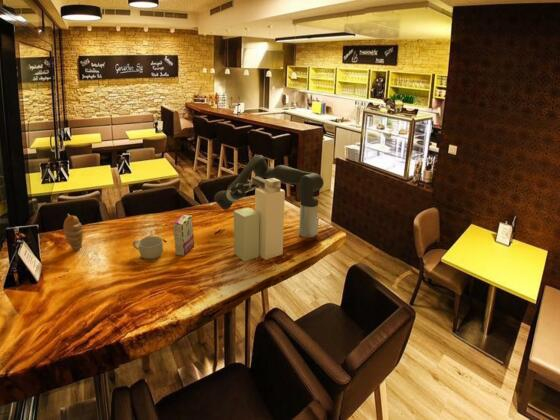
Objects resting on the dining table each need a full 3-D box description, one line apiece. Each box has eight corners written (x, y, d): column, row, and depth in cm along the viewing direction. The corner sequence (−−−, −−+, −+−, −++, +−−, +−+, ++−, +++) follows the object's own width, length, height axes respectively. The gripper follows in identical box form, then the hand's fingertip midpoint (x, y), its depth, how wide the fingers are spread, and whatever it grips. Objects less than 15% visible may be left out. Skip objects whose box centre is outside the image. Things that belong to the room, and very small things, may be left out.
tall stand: (271, 247, 191) (273, 185, 179) (282, 254, 184) (284, 190, 173) (254, 252, 185) (255, 188, 174) (265, 259, 178) (266, 194, 167)
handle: (259, 182, 184) (259, 171, 182) (280, 191, 171) (280, 180, 169) (250, 183, 181) (250, 173, 179) (271, 193, 168) (271, 182, 167)
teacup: (168, 253, 181) (167, 238, 178) (154, 263, 172) (152, 247, 169) (143, 248, 185) (142, 233, 183) (128, 258, 176) (126, 242, 173)
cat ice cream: (64, 249, 182) (57, 214, 175) (81, 244, 187) (75, 210, 181) (71, 256, 176) (65, 219, 170) (89, 250, 182) (83, 215, 175)
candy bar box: (185, 245, 190) (183, 214, 184) (194, 246, 189) (192, 215, 184) (174, 255, 180) (172, 222, 174) (184, 256, 179) (182, 224, 173)
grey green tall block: (248, 249, 187) (248, 207, 180) (258, 256, 181) (259, 213, 173) (234, 253, 183) (233, 210, 175) (244, 261, 176) (244, 216, 168)
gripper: (249, 197, 201) (265, 189, 188) (225, 202, 193) (239, 194, 180) (246, 183, 202) (260, 174, 189) (221, 187, 194) (235, 178, 181)
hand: (250, 184), depth 184 cm, fingers open, 8 cm apart
